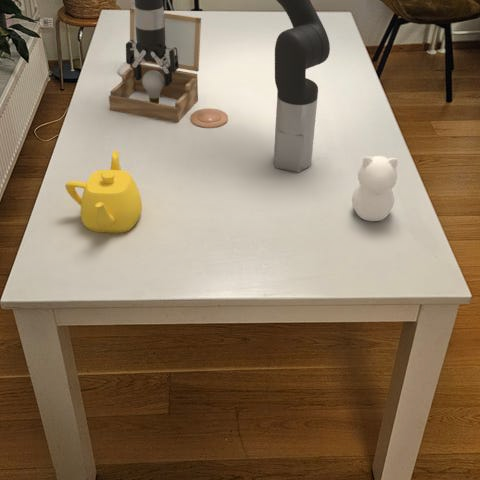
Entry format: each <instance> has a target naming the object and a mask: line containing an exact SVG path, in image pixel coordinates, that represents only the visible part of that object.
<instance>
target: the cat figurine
mask: <svg viewBox="0 0 480 480" xmlns="http://www.w3.org/2000/svg"><path fill="white" fill-rule="evenodd" d="M397 166H398V158H397V157H389V158H388V157H387V156H384V155H375V156H368V155H367V156H365V157H364V158H363V159H362V164H360V167H359V170H358V172H357V178H358V179H357V180H358V182H359V183H358V184H357V185H356V186H355V188H354V190H353V193H352V196H351V203H352V207H353V209H354V211H355V212H356V214H357V215H358V217H359V218H361V219H363V220H364V221H368V222H379V221H380V222H381V221H383V220H385V219H386V217H388V216H389V214H390V212H391V211H392V209H393V207H394V204H395V193H394V190H393V189H394V187H395V185H396V183H397V180H398V170H397Z"/></svg>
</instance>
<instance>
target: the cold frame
mask: <svg viewBox="0 0 480 480" xmlns="http://www.w3.org/2000/svg"><path fill="white" fill-rule="evenodd" d="M140 65H141V72H142V78H141V79H140V80H139V81H138V80H136V78H135V77H134V68H133V66H132V65H131V64H130V68H129V69H128V70H126V71H125V72H124V73H123V74H122V77H121V81H120V83H118V84H117V85H116V86H115V87H114V88H112V89H111V90H110V95H108V102H109V110H111V111H113V112H118V113H125V114H131V115H135V116H140V117H145V118H146V117H147V118H151V119H156V120H161V121H166V122H172V123H179V122H180V120H181V119H182V118H183V117H184V116H185V115H186V114H187V113H189V111H190V110H191V109H192V108H193V107H194V106H195V105H196V104H197V102H198V101H199V96H198V95H199V92H198V91H199V90H198V89H199V88H198V87H199V85H198V79H199V78H198V73H194V72H190V71H189V72H188V71H183V70H182V71H181V70H178V69H177V70H176V71H175V72H172V82H171V83H170V84H169V85H168V86H165V81H164V86H163V88H162V90H161V92H160V96H159V97H165V98H171V99H176V100H177V101H175V102H174V106H173V105H167V104H162V103H159V104H158V103H152V102H150V101H147V100H141V99H135V98H129V97H130V96H131V95H133V93H135V92H139V93H142V94H148V93H147V91H146V89H145V88H144V87H143V84H142V79H143V76H144V74H145V73H146V72H148V71H151V70H155V71H158V72H160V73H161V74H162V76H163V78H164V73H165V71H164V70H163V69H162V67H154V66H148V65H142V64H140ZM194 104H195V105H194ZM193 105H194V106H193ZM192 106H193V107H192ZM191 107H192V108H191Z"/></svg>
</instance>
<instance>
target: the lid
mask: <svg viewBox="0 0 480 480" xmlns="http://www.w3.org/2000/svg"><path fill="white" fill-rule="evenodd" d="M164 17H165V45H166V47H167V48H171V49H172V48H174V47H176V48H177V54H178V65H179V68H178V69H180V70H187V71H190V72H191V71H192V72H199V71H200V69H199V68H200V49H201V32H202V31H201V29H202V28H201V27H202V17H196V16H190V15H183V14H182V15H181V14H177V13H170V12H169V13H168V12H164ZM130 40H133V41H134V42H135V43H137V40H136V26H135V8H131V7H130V8H129V41H130ZM139 54H140V53H139V52H138V50H137V49H136V48H135V49H134V59H135V60H136V58H137V57H138V56H139ZM165 55H166V57H167V58H168V60H169V63H170V57H168V54H167V53H165ZM161 60H162V59H161ZM162 61H163V60H162ZM142 62H144V63H149V64H155V65H158V63H157V62H156V63H153V62H151V61H149V62H147V61H145V60H144V59H143V61H142Z"/></svg>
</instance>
